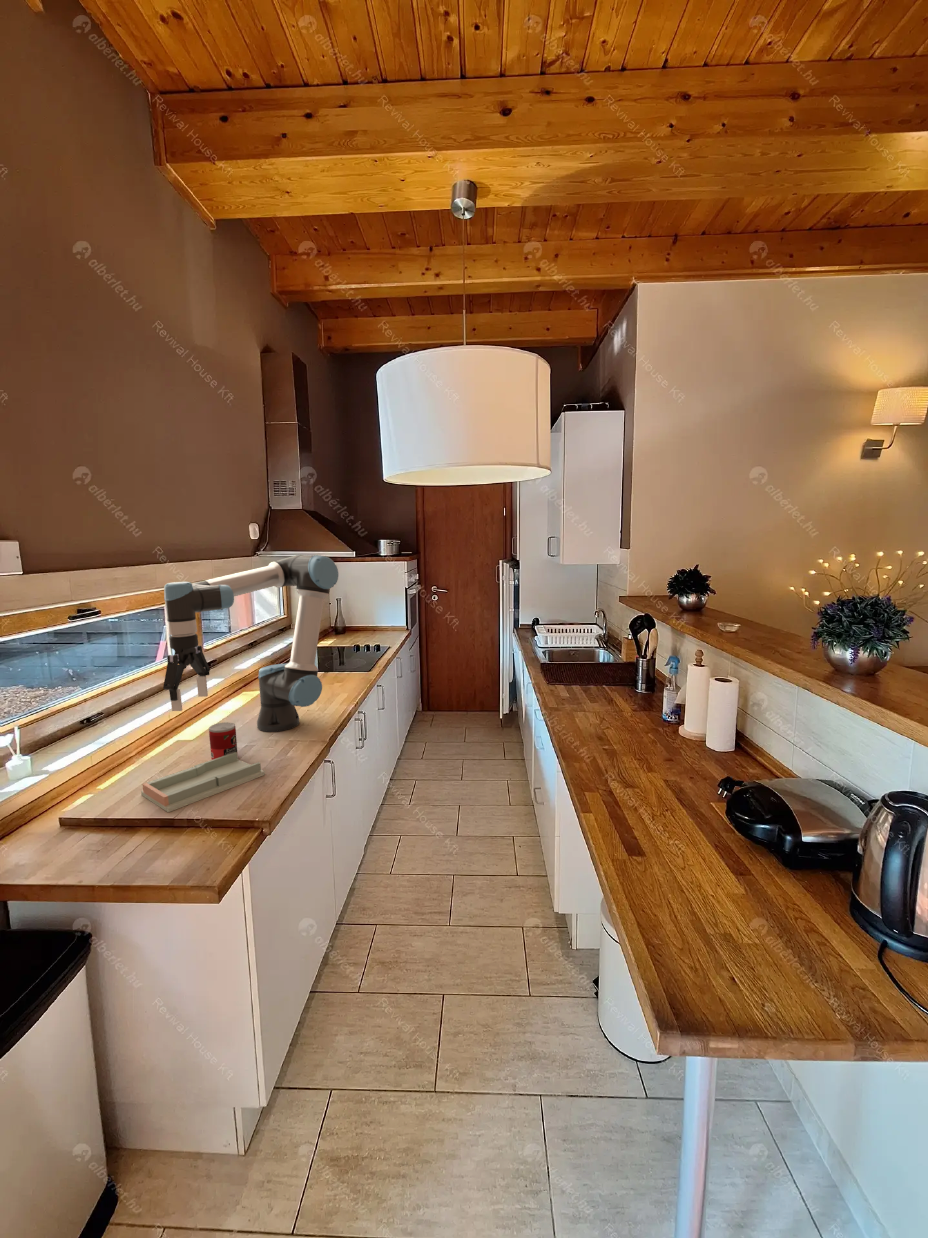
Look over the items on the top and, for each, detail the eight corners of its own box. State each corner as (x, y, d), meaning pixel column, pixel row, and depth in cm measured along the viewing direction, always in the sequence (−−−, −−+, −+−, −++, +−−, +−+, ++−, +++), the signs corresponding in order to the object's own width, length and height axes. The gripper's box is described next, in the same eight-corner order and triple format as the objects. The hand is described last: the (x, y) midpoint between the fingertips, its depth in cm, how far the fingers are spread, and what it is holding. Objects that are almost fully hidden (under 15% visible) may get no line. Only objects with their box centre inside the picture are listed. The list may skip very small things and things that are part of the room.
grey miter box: (236, 761, 174) (235, 750, 174) (264, 774, 165) (263, 763, 164) (141, 795, 153) (140, 782, 152) (168, 812, 143) (166, 799, 142)
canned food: (228, 765, 172) (225, 731, 170) (206, 763, 174) (203, 729, 172) (243, 755, 180) (240, 723, 178) (221, 753, 181) (218, 721, 179)
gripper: (195, 626, 176) (201, 690, 179) (143, 643, 151) (152, 717, 155) (217, 626, 175) (223, 691, 179) (169, 643, 151) (177, 717, 154)
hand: (190, 703), depth 167 cm, fingers open, 13 cm apart
